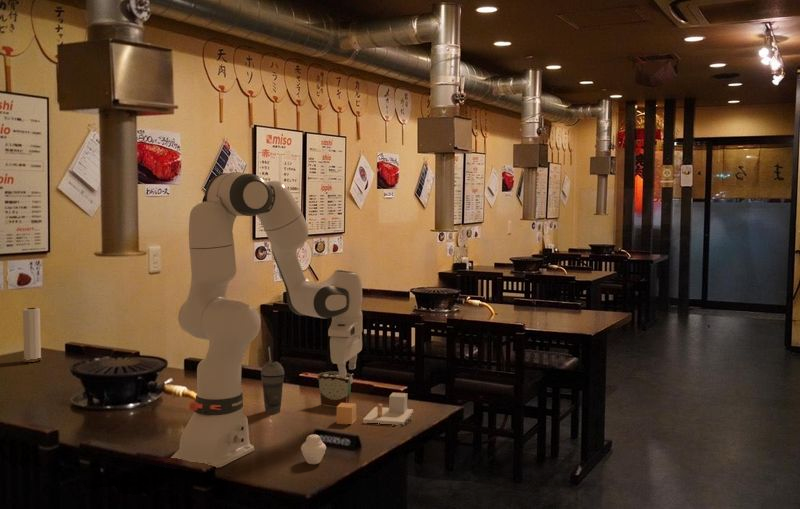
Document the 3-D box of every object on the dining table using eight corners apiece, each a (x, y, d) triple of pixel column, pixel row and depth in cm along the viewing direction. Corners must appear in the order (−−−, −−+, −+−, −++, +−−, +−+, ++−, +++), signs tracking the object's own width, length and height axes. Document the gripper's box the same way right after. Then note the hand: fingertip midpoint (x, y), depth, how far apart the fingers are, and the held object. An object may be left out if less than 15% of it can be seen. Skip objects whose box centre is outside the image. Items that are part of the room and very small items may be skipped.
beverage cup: (279, 415, 227) (279, 349, 225) (256, 414, 228) (256, 348, 227) (288, 409, 234) (288, 345, 232) (266, 407, 235) (265, 344, 234)
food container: (360, 404, 240) (360, 373, 239) (350, 409, 234) (350, 377, 234) (327, 400, 245) (327, 369, 245) (317, 404, 240) (317, 373, 239)
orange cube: (351, 424, 218) (351, 407, 218) (336, 423, 219) (336, 406, 219) (356, 420, 222) (356, 403, 222) (341, 419, 223) (341, 402, 223)
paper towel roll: (32, 359, 304) (31, 307, 303) (44, 360, 302) (43, 307, 301) (18, 363, 297) (16, 309, 296) (30, 364, 296) (29, 310, 294)
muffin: (327, 458, 189) (327, 430, 189) (324, 466, 183) (324, 438, 182) (303, 457, 189) (303, 430, 189) (298, 466, 183) (298, 437, 183)
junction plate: (403, 426, 217) (403, 404, 217) (363, 423, 220) (363, 402, 219) (413, 413, 231) (413, 393, 230) (375, 410, 233) (375, 390, 233)
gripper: (347, 319, 230) (347, 364, 231) (326, 331, 210) (326, 380, 211) (367, 320, 228) (367, 365, 229) (347, 332, 208) (348, 381, 209)
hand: (347, 372), depth 220 cm, fingers open, 8 cm apart
